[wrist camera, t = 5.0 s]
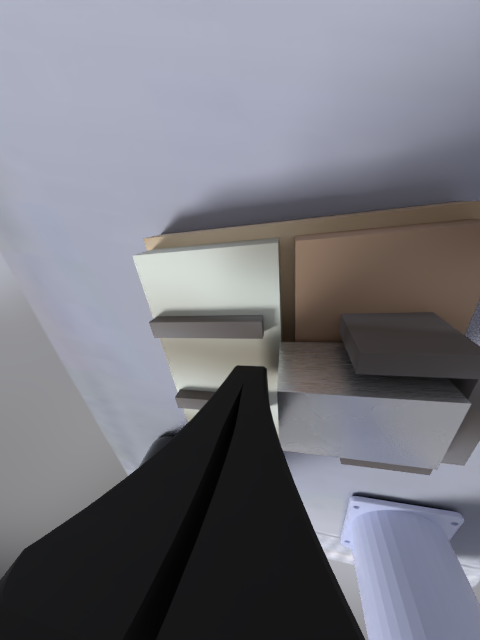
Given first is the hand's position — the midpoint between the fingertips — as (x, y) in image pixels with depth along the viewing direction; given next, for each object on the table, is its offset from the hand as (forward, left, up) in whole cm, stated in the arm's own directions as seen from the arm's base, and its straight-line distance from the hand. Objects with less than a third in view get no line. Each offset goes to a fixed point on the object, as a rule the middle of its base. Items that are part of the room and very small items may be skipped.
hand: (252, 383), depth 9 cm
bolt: (0, -4, -1) cm, 4 cm away
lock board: (0, -2, -4) cm, 4 cm away
